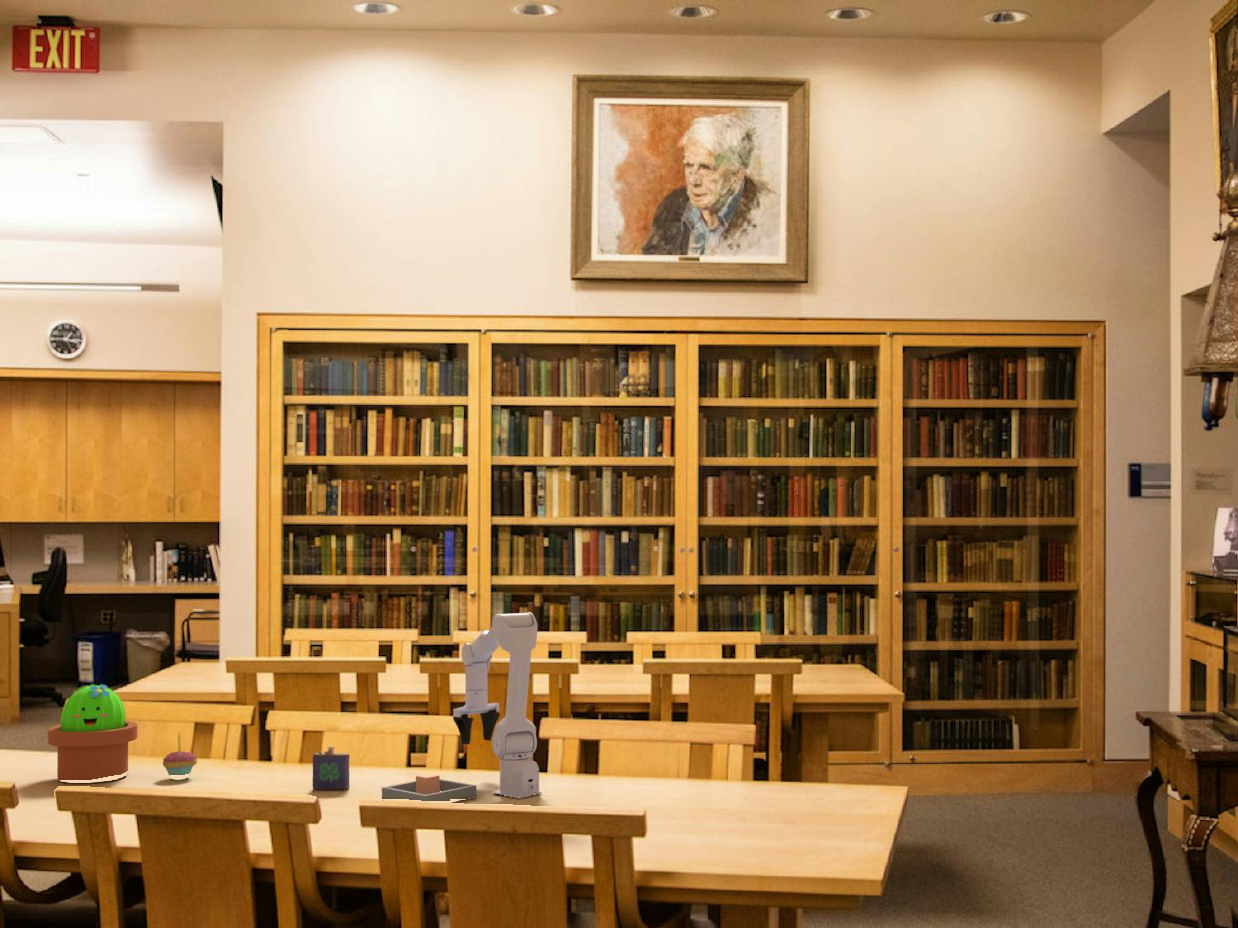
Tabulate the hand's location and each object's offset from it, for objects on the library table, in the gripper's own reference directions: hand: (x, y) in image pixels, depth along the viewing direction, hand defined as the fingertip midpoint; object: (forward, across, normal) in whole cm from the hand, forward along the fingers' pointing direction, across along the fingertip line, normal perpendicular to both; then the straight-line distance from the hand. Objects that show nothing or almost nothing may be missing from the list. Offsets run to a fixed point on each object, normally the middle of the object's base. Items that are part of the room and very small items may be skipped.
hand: (476, 741), depth 357 cm
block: (+9, +25, +9) cm, 28 cm away
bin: (+9, +25, +10) cm, 28 cm away
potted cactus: (+10, +63, -80) cm, 102 cm away
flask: (+10, +33, -18) cm, 39 cm away
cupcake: (+10, +49, -61) cm, 79 cm away
